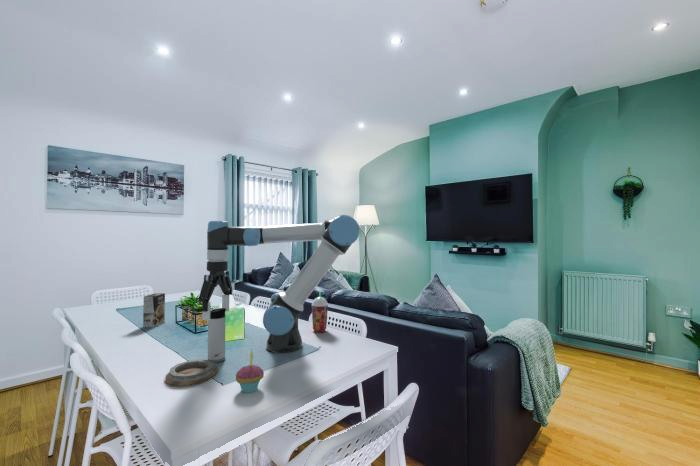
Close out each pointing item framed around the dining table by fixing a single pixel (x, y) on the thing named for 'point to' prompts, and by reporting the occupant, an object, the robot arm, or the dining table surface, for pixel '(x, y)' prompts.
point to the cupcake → (249, 376)
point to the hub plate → (191, 373)
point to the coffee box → (154, 310)
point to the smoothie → (319, 314)
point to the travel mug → (216, 335)
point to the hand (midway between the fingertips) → (216, 315)
